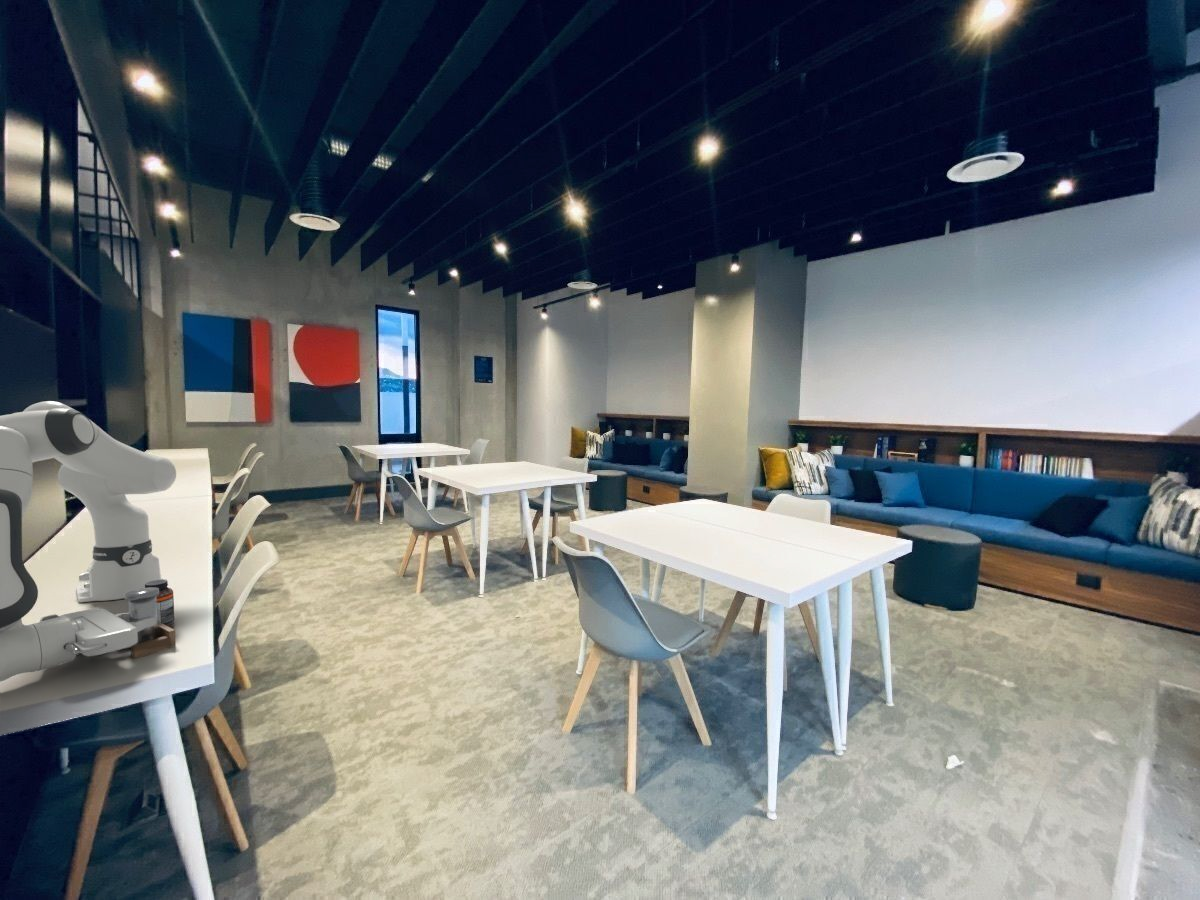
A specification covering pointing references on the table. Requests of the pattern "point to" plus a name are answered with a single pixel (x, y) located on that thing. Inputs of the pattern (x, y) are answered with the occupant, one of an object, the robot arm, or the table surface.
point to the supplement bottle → (163, 602)
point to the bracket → (155, 642)
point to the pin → (143, 611)
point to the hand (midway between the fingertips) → (148, 617)
